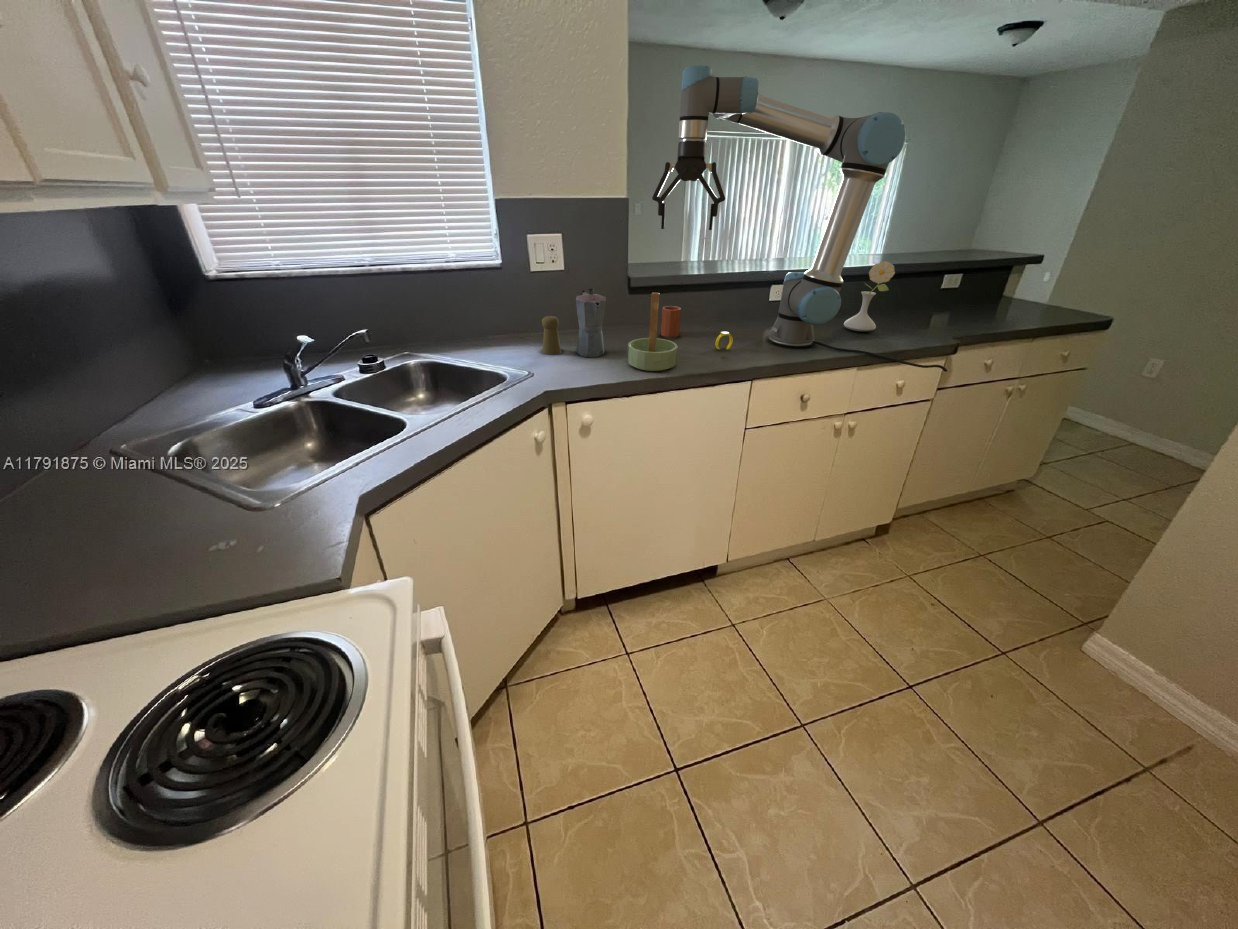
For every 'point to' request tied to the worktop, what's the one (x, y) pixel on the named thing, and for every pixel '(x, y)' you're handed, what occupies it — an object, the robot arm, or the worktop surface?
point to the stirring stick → (653, 322)
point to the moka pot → (590, 324)
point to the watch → (724, 335)
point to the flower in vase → (870, 297)
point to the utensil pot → (670, 321)
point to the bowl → (652, 354)
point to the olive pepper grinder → (551, 336)
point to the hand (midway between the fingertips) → (686, 229)
